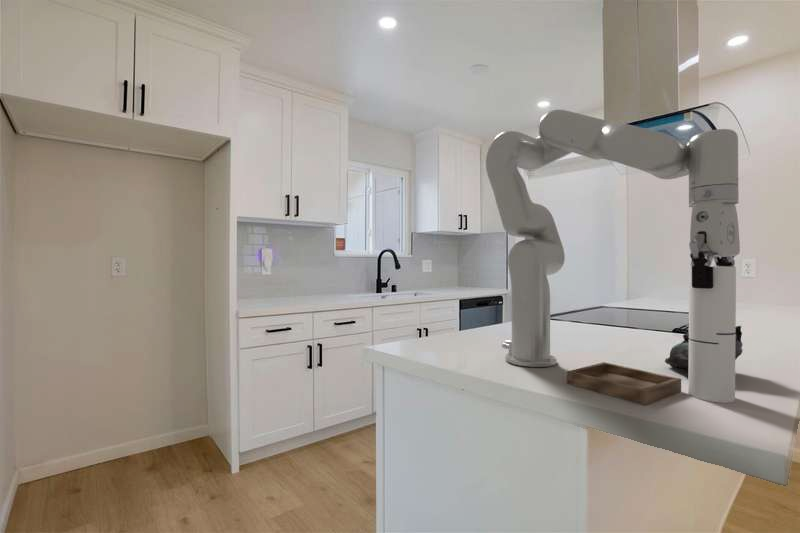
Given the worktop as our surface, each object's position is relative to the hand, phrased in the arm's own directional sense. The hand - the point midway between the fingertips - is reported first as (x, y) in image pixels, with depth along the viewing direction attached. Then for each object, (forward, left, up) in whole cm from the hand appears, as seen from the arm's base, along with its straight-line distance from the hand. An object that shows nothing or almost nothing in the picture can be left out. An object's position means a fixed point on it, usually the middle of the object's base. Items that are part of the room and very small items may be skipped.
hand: (713, 287), depth 78 cm
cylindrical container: (0, 0, -21) cm, 21 cm away
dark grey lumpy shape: (-8, +17, -21) cm, 28 cm away
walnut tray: (-13, -9, -21) cm, 26 cm away
